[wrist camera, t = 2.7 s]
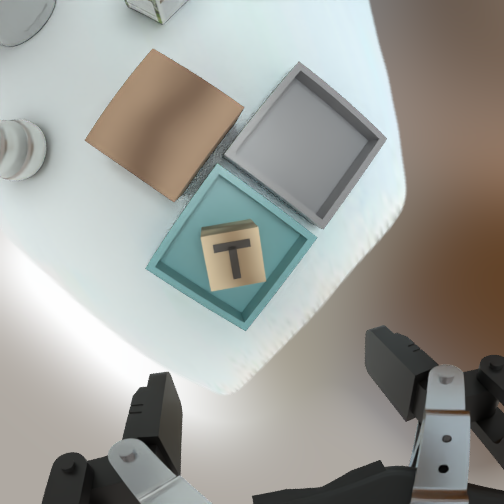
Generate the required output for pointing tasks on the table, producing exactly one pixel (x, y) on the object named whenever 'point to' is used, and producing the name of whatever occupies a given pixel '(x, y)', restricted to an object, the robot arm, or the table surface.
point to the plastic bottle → (20, 149)
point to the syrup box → (156, 8)
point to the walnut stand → (164, 124)
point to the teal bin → (224, 211)
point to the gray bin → (307, 145)
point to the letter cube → (233, 254)
